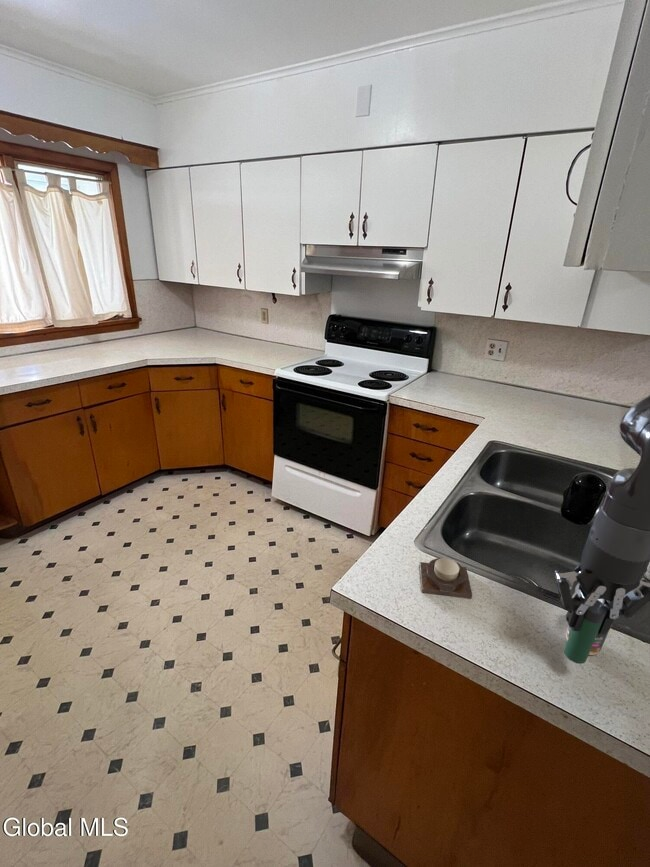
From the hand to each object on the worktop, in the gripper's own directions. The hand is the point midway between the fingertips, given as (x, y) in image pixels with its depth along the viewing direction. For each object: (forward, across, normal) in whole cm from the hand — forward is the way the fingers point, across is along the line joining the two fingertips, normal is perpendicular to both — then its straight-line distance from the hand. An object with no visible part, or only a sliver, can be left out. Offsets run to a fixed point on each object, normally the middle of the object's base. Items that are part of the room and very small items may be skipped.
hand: (585, 627), depth 67 cm
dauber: (+6, 0, 0) cm, 6 cm away
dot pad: (+9, -18, +19) cm, 28 cm away
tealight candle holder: (+12, -18, +19) cm, 29 cm away
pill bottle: (+12, +6, +8) cm, 15 cm away
